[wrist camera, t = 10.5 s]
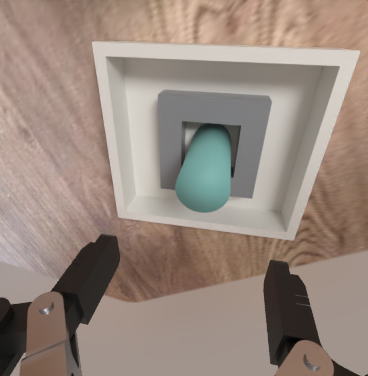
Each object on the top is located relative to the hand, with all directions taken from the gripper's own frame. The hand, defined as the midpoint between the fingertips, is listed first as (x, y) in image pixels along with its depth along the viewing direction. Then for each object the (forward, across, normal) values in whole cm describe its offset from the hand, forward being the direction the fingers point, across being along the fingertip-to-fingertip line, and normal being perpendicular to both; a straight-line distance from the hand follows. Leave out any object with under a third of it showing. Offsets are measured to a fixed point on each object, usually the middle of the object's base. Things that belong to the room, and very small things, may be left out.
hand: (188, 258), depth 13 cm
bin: (+17, 0, 0) cm, 17 cm away
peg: (+16, 0, 0) cm, 16 cm away
